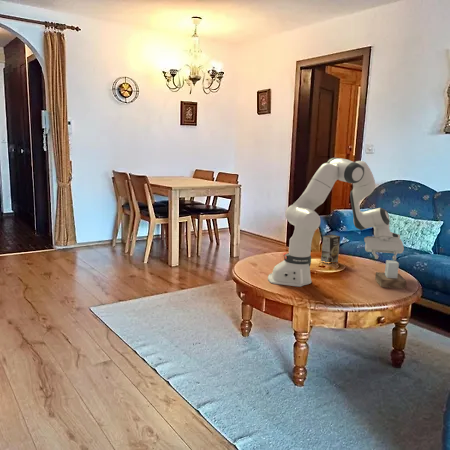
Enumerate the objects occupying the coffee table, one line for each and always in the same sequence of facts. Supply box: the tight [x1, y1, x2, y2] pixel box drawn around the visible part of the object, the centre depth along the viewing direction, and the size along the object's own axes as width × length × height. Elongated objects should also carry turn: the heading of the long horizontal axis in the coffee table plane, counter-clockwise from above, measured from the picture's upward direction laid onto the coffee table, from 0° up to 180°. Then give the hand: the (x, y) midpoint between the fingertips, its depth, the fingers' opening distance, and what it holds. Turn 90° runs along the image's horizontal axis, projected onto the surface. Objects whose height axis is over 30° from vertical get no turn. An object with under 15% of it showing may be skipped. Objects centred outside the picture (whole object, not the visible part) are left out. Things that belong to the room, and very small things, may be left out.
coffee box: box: [320, 234, 341, 263], centre depth 258 cm, size 9×6×16 cm
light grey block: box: [384, 259, 400, 278], centre depth 222 cm, size 5×5×8 cm
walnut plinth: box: [374, 272, 407, 289], centre depth 224 cm, size 12×12×4 cm
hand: (385, 258), depth 234 cm, fingers open, 8 cm apart
